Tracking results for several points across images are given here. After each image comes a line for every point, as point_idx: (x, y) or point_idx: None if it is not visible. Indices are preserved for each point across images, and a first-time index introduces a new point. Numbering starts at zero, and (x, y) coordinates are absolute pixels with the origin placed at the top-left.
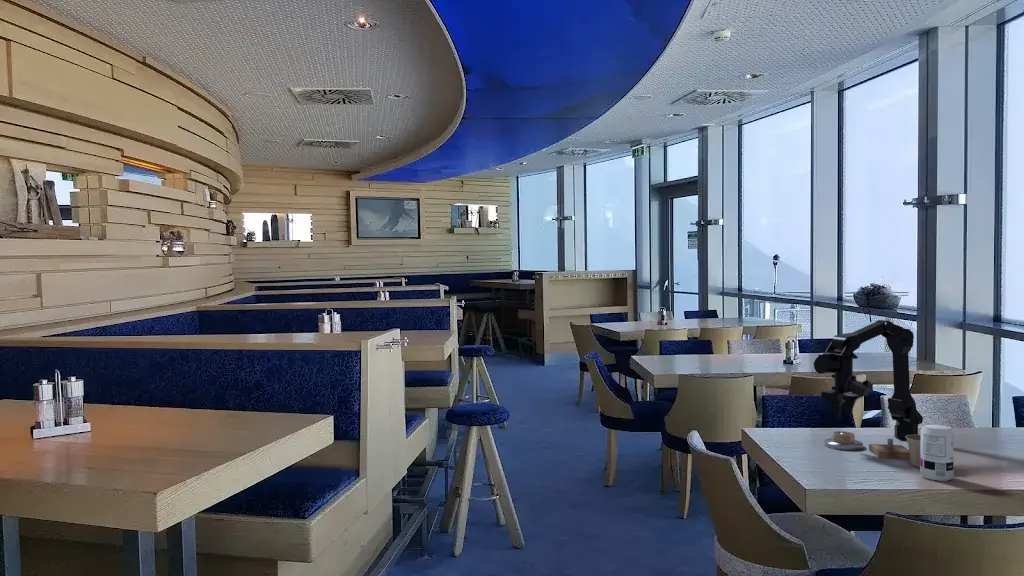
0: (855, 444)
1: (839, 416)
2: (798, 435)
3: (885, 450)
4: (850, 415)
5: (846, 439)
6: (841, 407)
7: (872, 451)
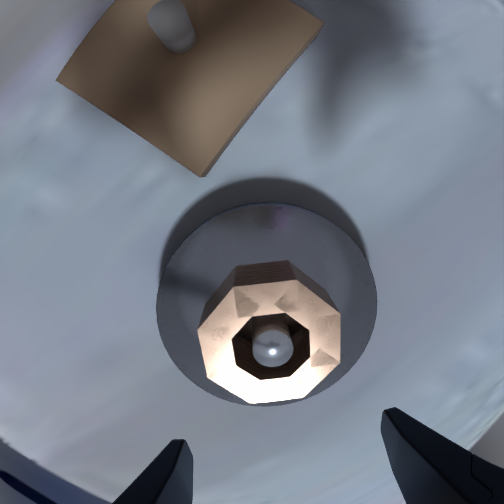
0: (260, 240)
1: (411, 417)
2: (267, 492)
3: (263, 17)
4: (171, 443)
5: (311, 284)
6: (457, 485)
7: (245, 121)
